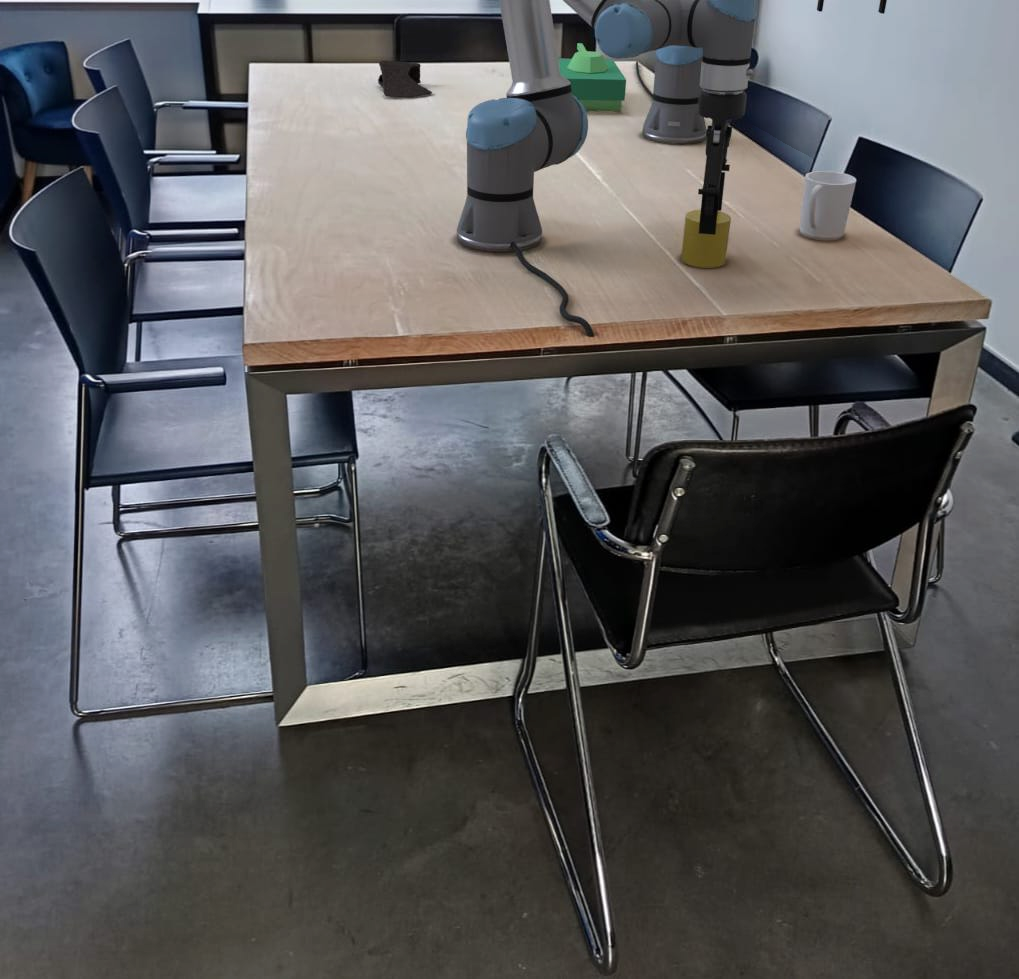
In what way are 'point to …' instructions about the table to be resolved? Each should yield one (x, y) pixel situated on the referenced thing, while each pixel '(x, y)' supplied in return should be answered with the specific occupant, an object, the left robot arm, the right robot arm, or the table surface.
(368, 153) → the table surface
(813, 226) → the mug
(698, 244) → the canister
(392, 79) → the axe head
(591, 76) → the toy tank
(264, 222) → the table surface
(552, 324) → the table surface
